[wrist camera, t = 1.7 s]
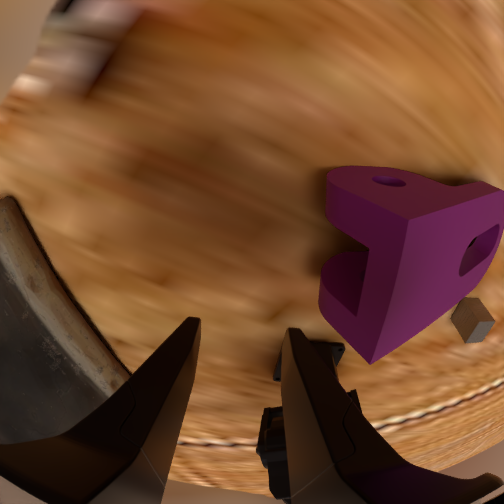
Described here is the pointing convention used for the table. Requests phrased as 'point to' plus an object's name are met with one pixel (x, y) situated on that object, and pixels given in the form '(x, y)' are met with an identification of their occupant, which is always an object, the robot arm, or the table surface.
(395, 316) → the mounting bracket
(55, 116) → the table surface
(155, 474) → the robot arm
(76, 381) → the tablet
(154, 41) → the table surface
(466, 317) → the stop blocks
